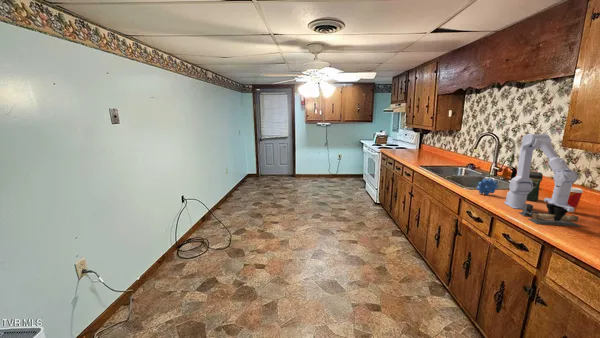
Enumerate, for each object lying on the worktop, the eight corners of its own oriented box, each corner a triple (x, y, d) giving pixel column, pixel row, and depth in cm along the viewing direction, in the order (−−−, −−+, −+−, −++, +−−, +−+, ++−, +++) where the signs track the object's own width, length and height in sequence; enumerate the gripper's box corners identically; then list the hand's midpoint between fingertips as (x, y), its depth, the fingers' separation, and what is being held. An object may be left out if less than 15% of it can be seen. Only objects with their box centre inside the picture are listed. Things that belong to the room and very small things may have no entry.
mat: (527, 219, 131) (527, 218, 131) (570, 221, 128) (570, 220, 128) (536, 224, 125) (536, 223, 125) (581, 226, 123) (581, 225, 122)
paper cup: (556, 208, 147) (562, 185, 144) (575, 211, 142) (582, 188, 139) (559, 211, 141) (565, 188, 138) (578, 215, 136) (585, 191, 133)
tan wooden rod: (536, 219, 126) (536, 214, 126) (532, 217, 129) (532, 212, 128) (577, 221, 124) (578, 216, 123) (572, 219, 126) (573, 215, 126)
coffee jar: (536, 199, 162) (542, 171, 158) (538, 202, 156) (545, 174, 152) (517, 196, 168) (522, 169, 163) (518, 199, 161) (524, 171, 157)
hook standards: (518, 213, 138) (521, 203, 137) (554, 215, 136) (557, 205, 135) (528, 218, 132) (530, 207, 130) (566, 220, 129) (569, 209, 128)
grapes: (495, 194, 170) (499, 178, 167) (496, 197, 164) (500, 180, 162) (475, 191, 176) (478, 175, 173) (475, 194, 171) (478, 177, 168)
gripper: (540, 189, 131) (534, 213, 134) (565, 198, 117) (558, 225, 120) (555, 190, 130) (549, 214, 133) (581, 199, 116) (574, 226, 119)
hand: (554, 219), depth 126 cm, fingers closed on tan wooden rod, 2 cm apart
